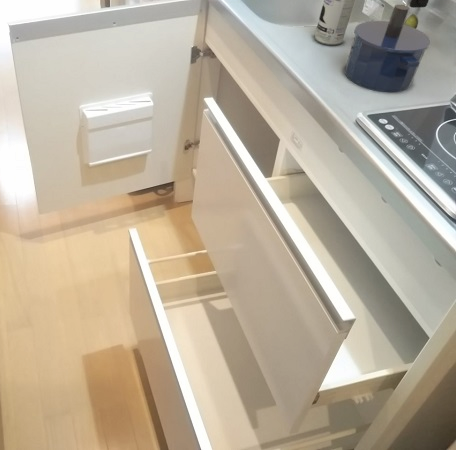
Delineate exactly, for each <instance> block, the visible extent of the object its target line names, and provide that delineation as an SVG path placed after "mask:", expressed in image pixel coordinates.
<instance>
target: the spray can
mask: <svg viewBox="0 0 456 450" xmlns="http://www.w3.org/2000/svg"><path fill="white" fill-rule="evenodd" d="M355 1H356V0H323V3H322V5H321V10H320V14H319V17H318V22H317V26H316V30H315V33H314V39H315V41H316V42H317V43H319V44H322V45H325V46H332V47H333V46H339V45H341V44H342V43H343V41H344V38H345V35H346V31H347V28H348V25H349V21H350V19H351V14H352V11H353V8H354V5H355Z"/></svg>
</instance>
